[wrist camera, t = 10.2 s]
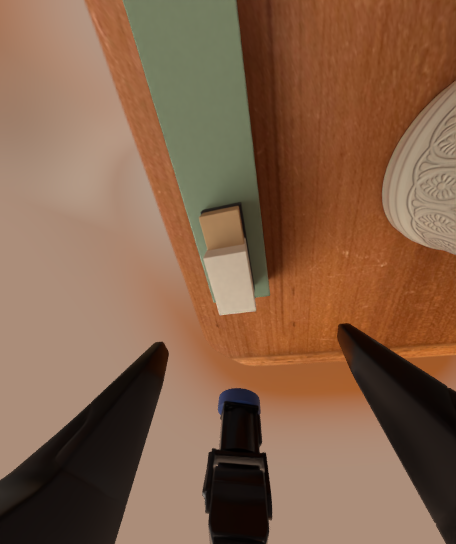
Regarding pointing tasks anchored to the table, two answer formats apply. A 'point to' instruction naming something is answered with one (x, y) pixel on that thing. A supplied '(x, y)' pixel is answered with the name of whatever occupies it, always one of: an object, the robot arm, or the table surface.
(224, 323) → the table surface
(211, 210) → the beige block
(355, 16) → the table surface
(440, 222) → the jar
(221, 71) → the green piece
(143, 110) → the table surface
